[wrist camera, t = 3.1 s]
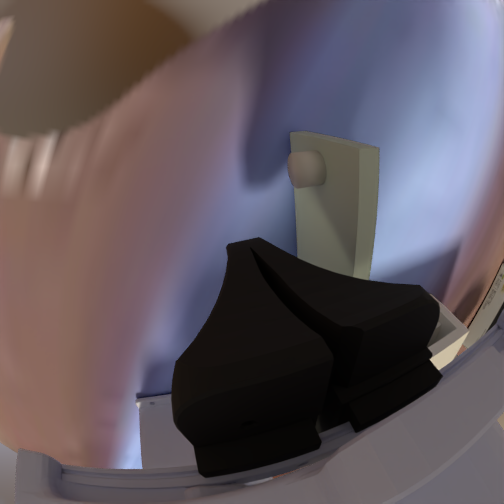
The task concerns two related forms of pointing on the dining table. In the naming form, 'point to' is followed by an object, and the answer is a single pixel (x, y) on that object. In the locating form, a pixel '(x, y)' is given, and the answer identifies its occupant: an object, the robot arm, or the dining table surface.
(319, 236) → the door
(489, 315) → the tea box
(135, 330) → the dining table surface
